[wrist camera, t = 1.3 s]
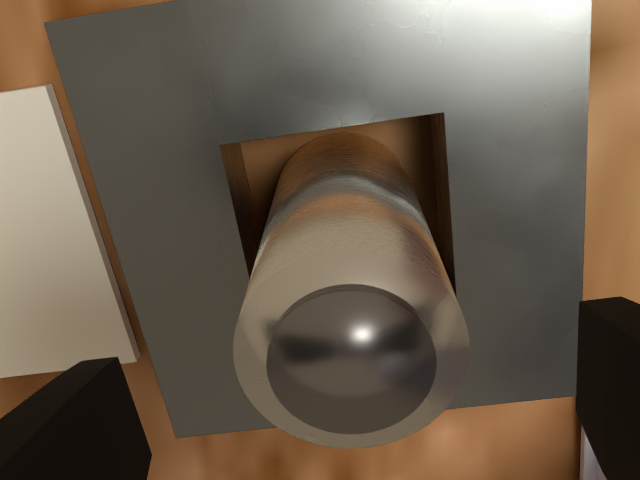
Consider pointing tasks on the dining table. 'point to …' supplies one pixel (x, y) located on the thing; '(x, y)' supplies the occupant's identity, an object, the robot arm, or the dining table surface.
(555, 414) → the dining table surface
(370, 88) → the housing
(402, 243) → the silver metal cylinder
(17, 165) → the mat
